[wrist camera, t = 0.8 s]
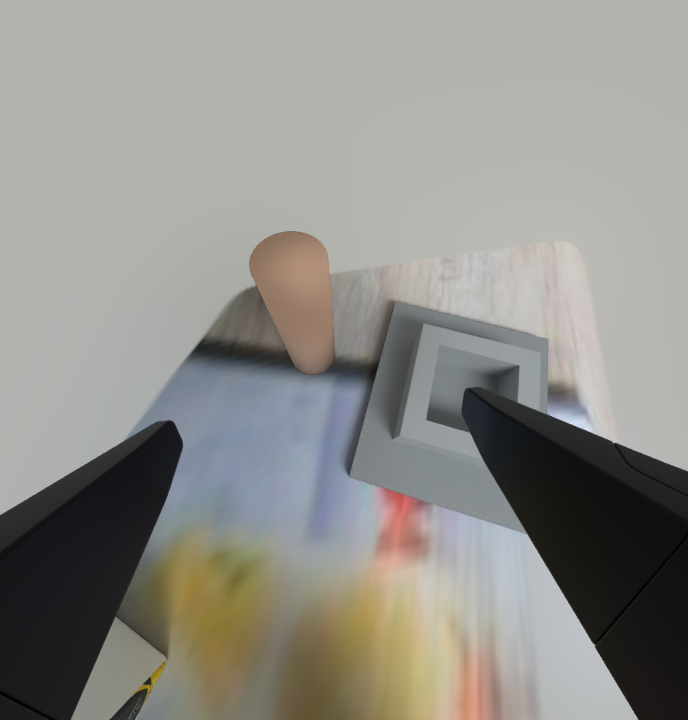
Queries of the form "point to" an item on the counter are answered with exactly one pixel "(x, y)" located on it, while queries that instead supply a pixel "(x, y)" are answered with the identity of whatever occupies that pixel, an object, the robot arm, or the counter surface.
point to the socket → (444, 408)
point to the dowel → (297, 296)
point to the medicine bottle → (120, 677)
